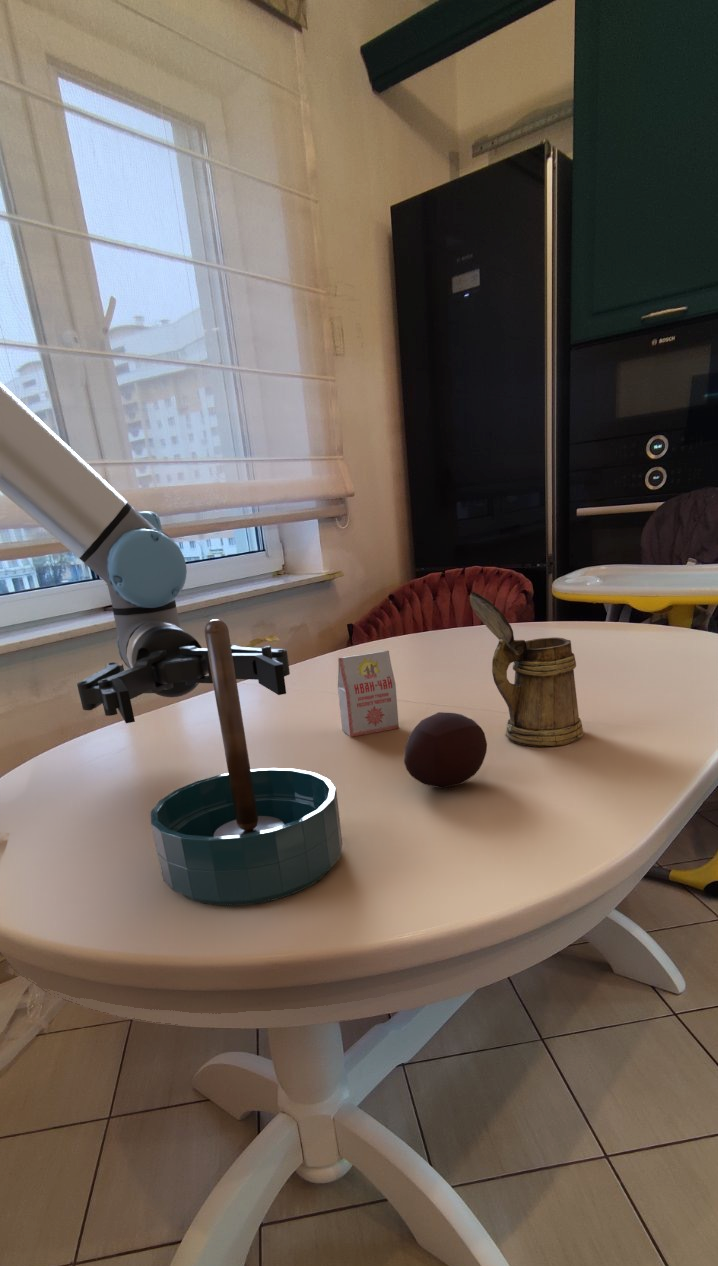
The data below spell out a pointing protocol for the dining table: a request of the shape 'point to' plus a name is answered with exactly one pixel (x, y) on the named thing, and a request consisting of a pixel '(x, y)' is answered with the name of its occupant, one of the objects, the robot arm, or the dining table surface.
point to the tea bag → (367, 694)
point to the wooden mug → (533, 682)
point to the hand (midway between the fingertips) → (206, 693)
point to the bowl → (248, 838)
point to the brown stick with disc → (233, 735)
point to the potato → (445, 750)
